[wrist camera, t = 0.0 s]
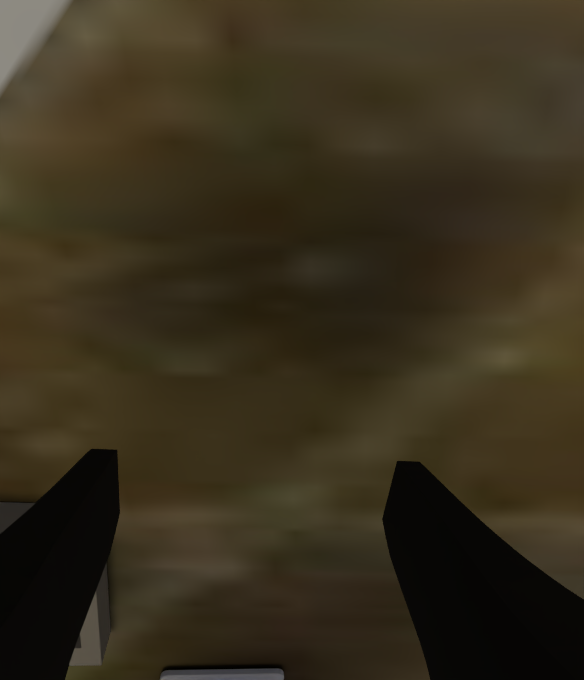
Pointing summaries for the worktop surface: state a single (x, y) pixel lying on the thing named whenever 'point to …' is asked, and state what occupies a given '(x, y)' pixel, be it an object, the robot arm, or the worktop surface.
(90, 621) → the board
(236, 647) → the worktop surface
